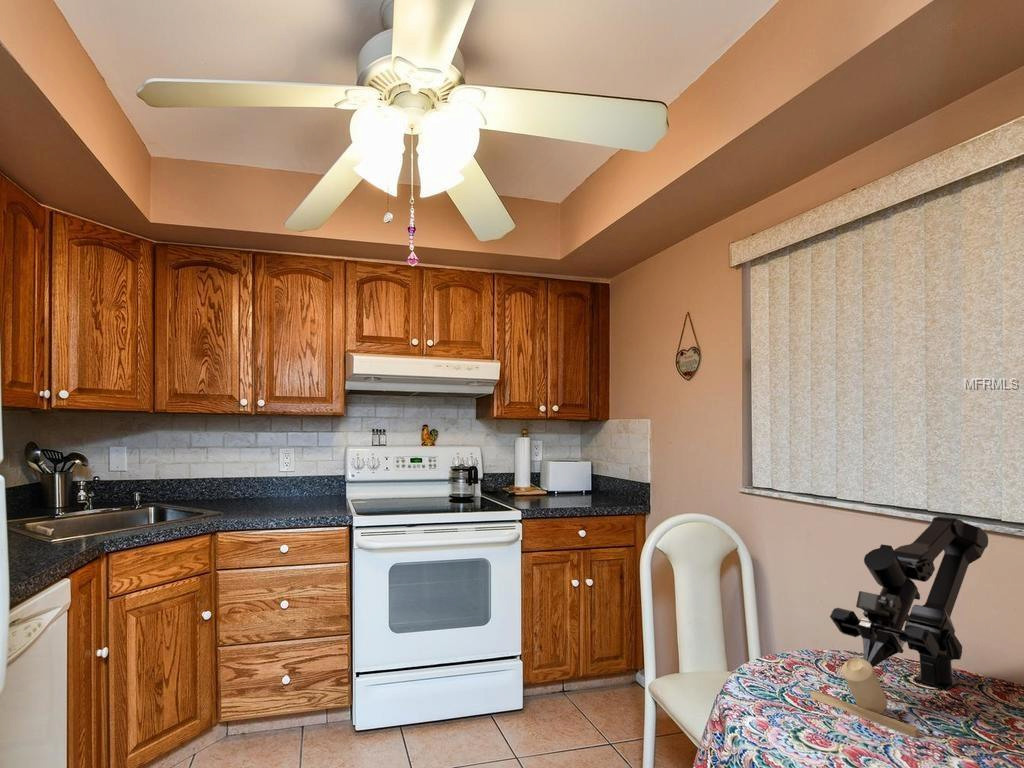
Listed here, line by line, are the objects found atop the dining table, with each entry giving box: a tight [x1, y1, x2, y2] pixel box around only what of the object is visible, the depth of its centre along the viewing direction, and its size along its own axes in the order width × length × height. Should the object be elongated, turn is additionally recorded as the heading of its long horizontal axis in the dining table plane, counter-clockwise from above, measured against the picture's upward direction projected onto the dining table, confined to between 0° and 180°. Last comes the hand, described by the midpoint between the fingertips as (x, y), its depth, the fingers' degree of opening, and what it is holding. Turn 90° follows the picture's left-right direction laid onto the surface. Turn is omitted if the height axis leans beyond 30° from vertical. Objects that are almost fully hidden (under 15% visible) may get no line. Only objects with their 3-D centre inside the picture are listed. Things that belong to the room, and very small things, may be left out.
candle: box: [841, 657, 888, 714], centre depth 121 cm, size 6×6×10 cm
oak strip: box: [809, 690, 921, 738], centre depth 120 cm, size 1×20×1 cm, turn 32°
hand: (866, 667), depth 122 cm, fingers closed, pressing on candle
